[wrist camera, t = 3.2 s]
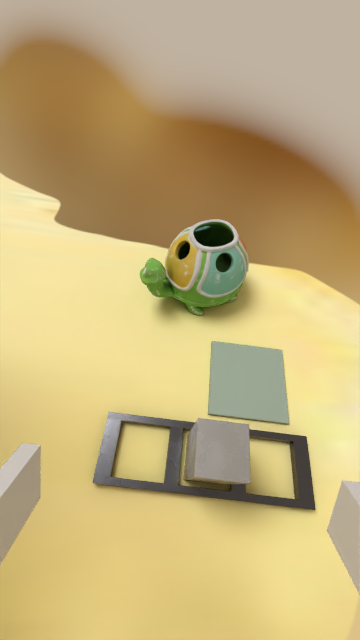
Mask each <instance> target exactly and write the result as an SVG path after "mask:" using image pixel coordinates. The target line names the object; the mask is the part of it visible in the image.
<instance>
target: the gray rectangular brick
mask: <svg viewBox="0 0 360 640" xmlns="http://www.w3.org/2000/svg"><path fill="white" fill-rule="evenodd" d="M183 479H185V480H193V481H202V482H210V483H218V484H250V444H249V424H241V423H233V422H225V421H217V420H209V419H201V418H198V419H197V421H196V422H195V424H194V426H193V427H192V429H191V430H190V432H189V433H188V435H187V443H186V455H185V466H184V478H183Z"/></svg>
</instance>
